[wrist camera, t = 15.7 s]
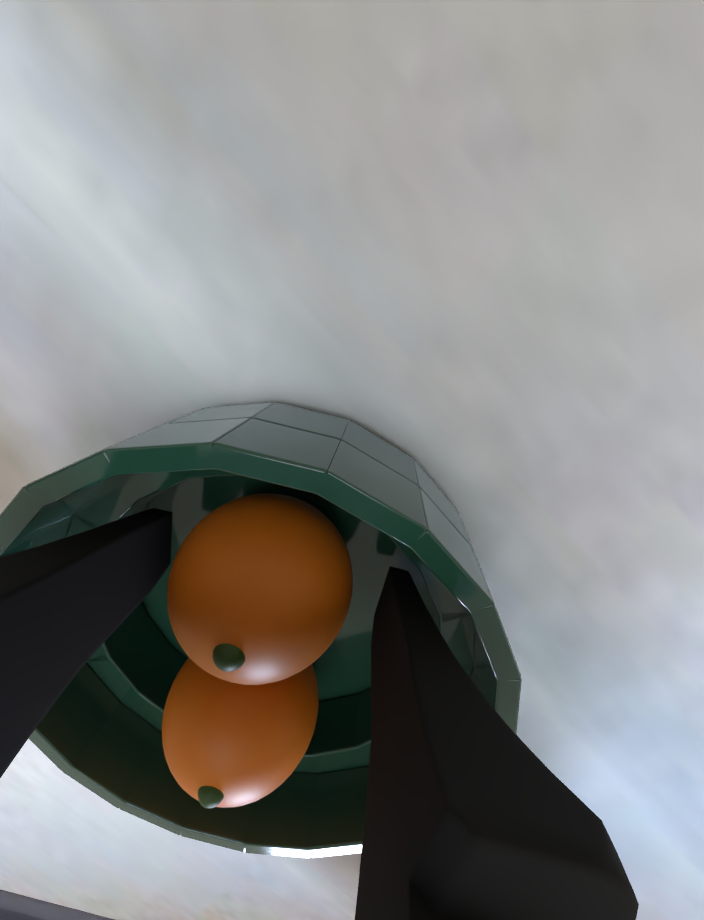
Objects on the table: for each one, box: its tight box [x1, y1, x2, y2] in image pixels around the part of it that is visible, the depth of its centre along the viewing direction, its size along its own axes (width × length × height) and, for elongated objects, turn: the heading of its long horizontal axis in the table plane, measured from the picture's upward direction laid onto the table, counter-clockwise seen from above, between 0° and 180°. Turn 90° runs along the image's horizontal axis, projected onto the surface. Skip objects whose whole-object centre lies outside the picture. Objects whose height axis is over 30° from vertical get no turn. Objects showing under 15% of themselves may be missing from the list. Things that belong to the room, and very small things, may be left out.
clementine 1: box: [167, 493, 353, 685], centre depth 10 cm, size 5×5×6 cm
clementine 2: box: [162, 658, 319, 808], centre depth 12 cm, size 5×5×5 cm
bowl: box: [0, 402, 521, 858], centre depth 12 cm, size 15×15×5 cm
